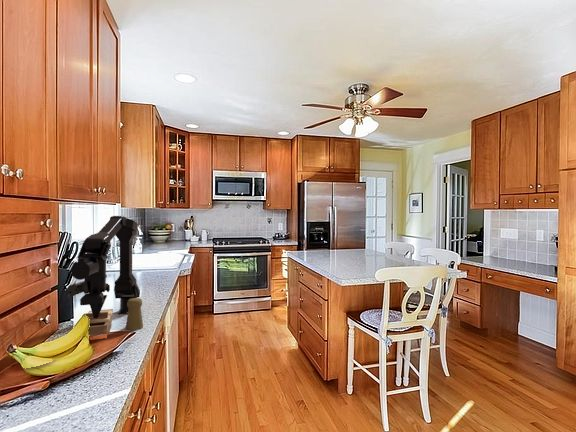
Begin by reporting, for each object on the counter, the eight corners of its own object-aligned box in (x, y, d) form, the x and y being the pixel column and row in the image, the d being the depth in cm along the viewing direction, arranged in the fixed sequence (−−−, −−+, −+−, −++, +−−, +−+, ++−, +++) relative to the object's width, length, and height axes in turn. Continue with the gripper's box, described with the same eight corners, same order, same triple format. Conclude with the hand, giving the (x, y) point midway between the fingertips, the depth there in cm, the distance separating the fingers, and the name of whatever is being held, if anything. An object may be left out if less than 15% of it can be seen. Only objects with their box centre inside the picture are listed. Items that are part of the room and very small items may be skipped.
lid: (89, 313, 120) (89, 305, 120) (113, 311, 123) (113, 303, 123) (82, 324, 109) (82, 315, 109) (108, 321, 112) (108, 313, 112)
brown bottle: (138, 323, 124) (139, 295, 123) (146, 327, 120) (146, 298, 120) (122, 327, 119) (123, 298, 119) (129, 332, 115) (130, 301, 115)
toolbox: (86, 329, 117) (87, 316, 117) (111, 326, 120) (111, 314, 120) (79, 341, 106) (79, 328, 106) (106, 338, 109) (107, 325, 109)
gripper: (75, 269, 116) (74, 312, 116) (61, 280, 99) (60, 330, 99) (110, 268, 120) (109, 309, 120) (102, 278, 103) (101, 326, 103)
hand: (95, 318), depth 111 cm, fingers closed
